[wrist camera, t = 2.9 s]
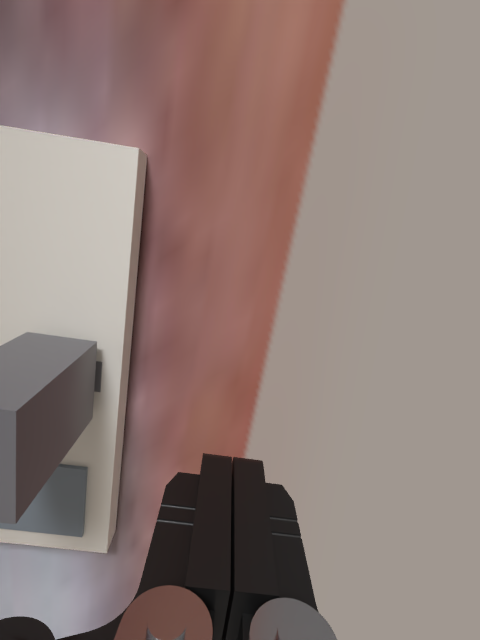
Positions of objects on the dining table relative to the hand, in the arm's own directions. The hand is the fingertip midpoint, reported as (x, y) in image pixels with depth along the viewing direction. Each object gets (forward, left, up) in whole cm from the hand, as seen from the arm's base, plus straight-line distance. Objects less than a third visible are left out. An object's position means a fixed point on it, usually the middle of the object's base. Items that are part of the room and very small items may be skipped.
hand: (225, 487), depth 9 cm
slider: (0, -6, -4) cm, 8 cm away
